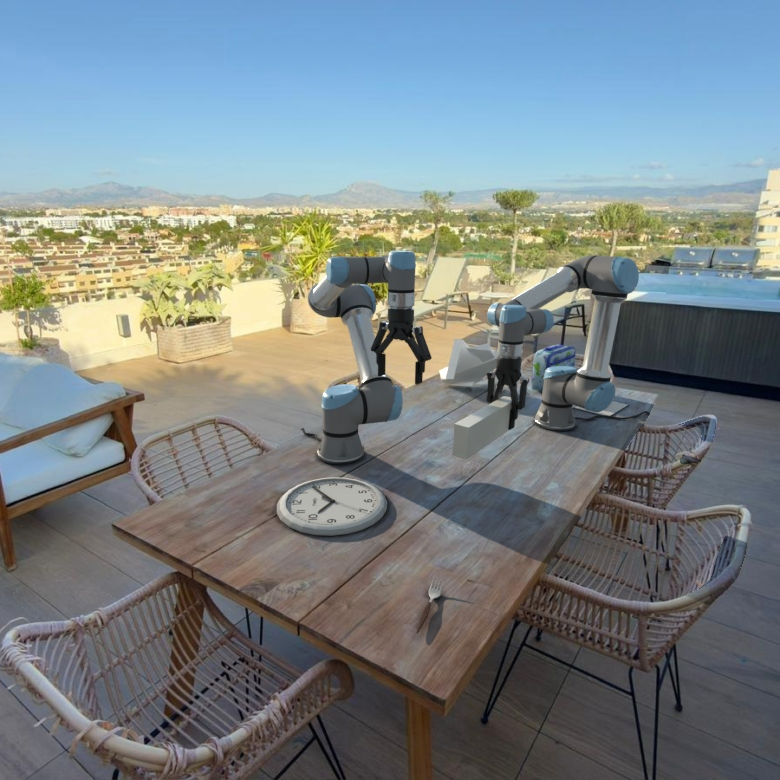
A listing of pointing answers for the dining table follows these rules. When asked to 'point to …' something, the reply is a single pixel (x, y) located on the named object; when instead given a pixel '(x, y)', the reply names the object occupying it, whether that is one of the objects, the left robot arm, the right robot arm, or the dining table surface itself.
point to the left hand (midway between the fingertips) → (399, 379)
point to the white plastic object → (470, 363)
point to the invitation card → (608, 408)
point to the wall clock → (331, 506)
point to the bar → (481, 428)
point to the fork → (433, 594)
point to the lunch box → (550, 362)
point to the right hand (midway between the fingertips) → (503, 426)
